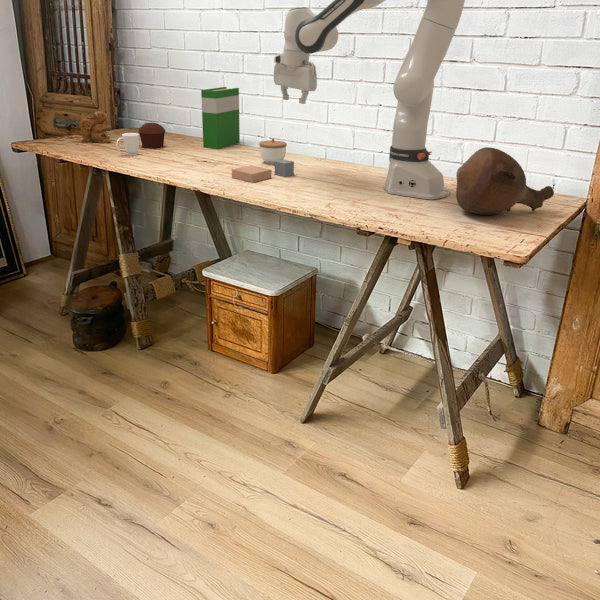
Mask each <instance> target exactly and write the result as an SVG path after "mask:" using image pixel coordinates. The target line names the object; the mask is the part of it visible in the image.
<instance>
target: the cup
mask: <svg viewBox="0 0 600 600" xmlns="http://www.w3.org/2000/svg"><path fill="white" fill-rule="evenodd" d="M120 140H122V142H123V147H124V148H125V151H126V153H124V152H123V151H121V150H120V149H119V141H120ZM139 140H140V134H139V133H135V132H126V133H122V134H121V137H119V138H118V139H117V140H116V145H115V146H116V150H117V151H118V153H121V154H122V155H125V156H136V155H138V151H139V143H140V142H139Z"/></svg>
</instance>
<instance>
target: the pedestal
mask: <svg viewBox="0 0 600 600" xmlns="http://www.w3.org/2000/svg"><path fill="white" fill-rule="evenodd" d="M231 178H232V179H235V180H239V181H243V182H248V183H251V184H252V183H257V182H260V181H265V180H269V179H272V169H269V168H265V167H260V166H256V165H246V166H242V167H237V168H233V169H231Z"/></svg>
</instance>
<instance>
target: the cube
mask: <svg viewBox="0 0 600 600" xmlns="http://www.w3.org/2000/svg"><path fill="white" fill-rule="evenodd" d="M294 171H295V161H293V160H288V159H285V158H284V159H283V160H279V161H275V164H274V176H279V177H282V178H286V177H292V176H294V174H295V172H294Z"/></svg>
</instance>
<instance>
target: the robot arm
mask: <svg viewBox="0 0 600 600" xmlns="http://www.w3.org/2000/svg"><path fill="white" fill-rule="evenodd" d="M385 1H386V0H333V1H332V2H331V3H330V4H328V5H327V6H326V7H325V8H324V9H323V10H322V11H320V12H319V13H318V14H315V13H314V12H313V11H312V10H311V8H309V7H304V6H303V7H295V8H294V7H293V8H291V9H289V10H288V11H287V13H286V17H285V20H284V21H285V22H284V33H283V34H284V46H283V52H281V53H280V54H277V55H275V56H274V57H273V61H274V63H275V65H274V66H273V82H274V85H276V86H280V90H281V94H282V100H283V101H284V100H285V101H289V100H290V99H289V98H290V95H289V94H288V89H289V88H290V89H291V88H292V89H295V90H299V91H300V90H301V91H300V92H301V96H300V97H299V100H298V102H299V104H300V105H305V104H306V101H307V97H308V95H309V93H310V92H315V91H316V90H317V87H318V76H317V69H316V68H317V67H316V65H315V64H314V61H313V62H312V61H310V54H314V53H315V54H316V53H319V52H320V53H321V52H327V51H329V50H332V49H333V48H334V47H335V46H336V45H337V43H338V40H339V32H338V28H337V27H338V26H339V25H340V24H341V23H343V21H345V20H346V19H347V18H349V17H350V16H351V15H353V14H355V13H357V12H360V11H362V10H366V9H372V8H376V7H377V6H379V5H382V3H385ZM465 2H466V0H427V3H426V7H425V9H424V12H423V14H422V17H421V20H420V22H419V24H418V27H417V29H416V32H415V35H414V36H413V40H412V42H411V45H410V47H409V49H408V51H407V53H406V56H405V57H404V60H403V61H402V64H401V66H400V67H399V70H398V73H397V75H396V78H395V80H394V82H393V87H392V90H393V95H394V97H395V99H396V100H397V104H396V110H395V111H396V112H395V114H394V120H393V126H392V127H393V128H392V136H391V138H392V139H391V146H390V147H389V157H388V159H389V165H388V171H387V174H386V178H385V182H384V184H383V187H382V188H383V189H384V190H385V191H387V194H389V195H397V196H404V197H410V198H418V199H422V200H438V199H443V198H446V197H447V196H450V194H451V190H450V189H449V188H445V178H444V175H443V173H442V172H441V171H440V170H439V169H438V168H437V167H436V166H435V165H434V164H433V163H432V162H431V161H430V160H429V159H430V156H432V153H433V151H428V150H427V147H426V143H427V132H428V125H429V118H430V117H429V116H430V113H431V109H432V108H431V107H432V101H433V94H434V86H435V81H434V80H435V78H436V75H437V74H438V72H439V69H440V68H441V65H442V63H443V61H444V58H445V57H446V55H447V52H448V50H449V47H450V44H451V43H452V41H453V38H454V35H455V33H456V30H457V28H458V26H459V22H460V20H461V17H462V14H463V9H464V6H465Z"/></svg>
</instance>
